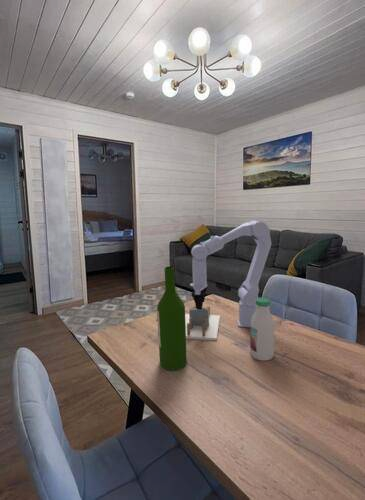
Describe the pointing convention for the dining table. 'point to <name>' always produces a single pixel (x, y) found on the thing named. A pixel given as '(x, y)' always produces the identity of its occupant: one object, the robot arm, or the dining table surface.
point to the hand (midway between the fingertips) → (200, 305)
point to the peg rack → (202, 328)
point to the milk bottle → (262, 331)
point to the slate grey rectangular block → (199, 316)
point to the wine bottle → (171, 326)
